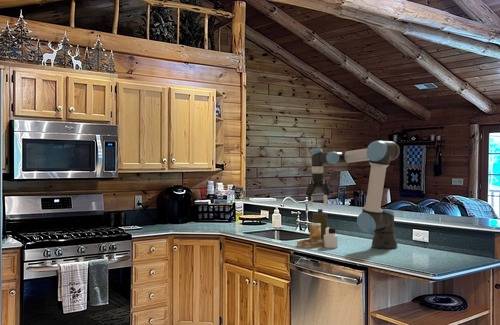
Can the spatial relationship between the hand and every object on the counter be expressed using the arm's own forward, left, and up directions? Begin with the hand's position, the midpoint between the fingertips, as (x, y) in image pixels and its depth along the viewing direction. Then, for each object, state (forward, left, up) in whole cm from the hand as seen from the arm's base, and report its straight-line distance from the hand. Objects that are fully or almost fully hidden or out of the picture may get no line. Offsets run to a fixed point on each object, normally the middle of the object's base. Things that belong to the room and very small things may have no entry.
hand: (318, 205), depth 319 cm
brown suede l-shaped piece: (-6, +11, -24) cm, 27 cm away
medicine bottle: (-19, +9, -24) cm, 32 cm away
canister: (+10, -12, -24) cm, 28 cm away
